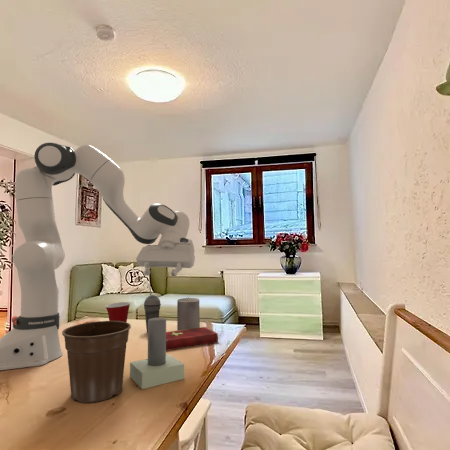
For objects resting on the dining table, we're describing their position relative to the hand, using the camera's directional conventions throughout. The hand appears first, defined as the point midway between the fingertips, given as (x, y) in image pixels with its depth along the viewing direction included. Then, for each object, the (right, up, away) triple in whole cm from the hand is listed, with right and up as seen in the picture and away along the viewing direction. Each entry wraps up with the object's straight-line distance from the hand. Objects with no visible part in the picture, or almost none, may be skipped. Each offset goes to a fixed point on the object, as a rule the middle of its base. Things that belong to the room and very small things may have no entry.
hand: (159, 274), depth 111 cm
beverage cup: (-10, -30, +33) cm, 46 cm away
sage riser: (+3, -26, -18) cm, 32 cm away
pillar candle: (+6, -30, +33) cm, 45 cm away
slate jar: (+3, -22, -18) cm, 28 cm away
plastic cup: (-25, -30, +35) cm, 53 cm away
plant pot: (-11, -26, -27) cm, 39 cm away
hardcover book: (+7, -29, +17) cm, 34 cm away
